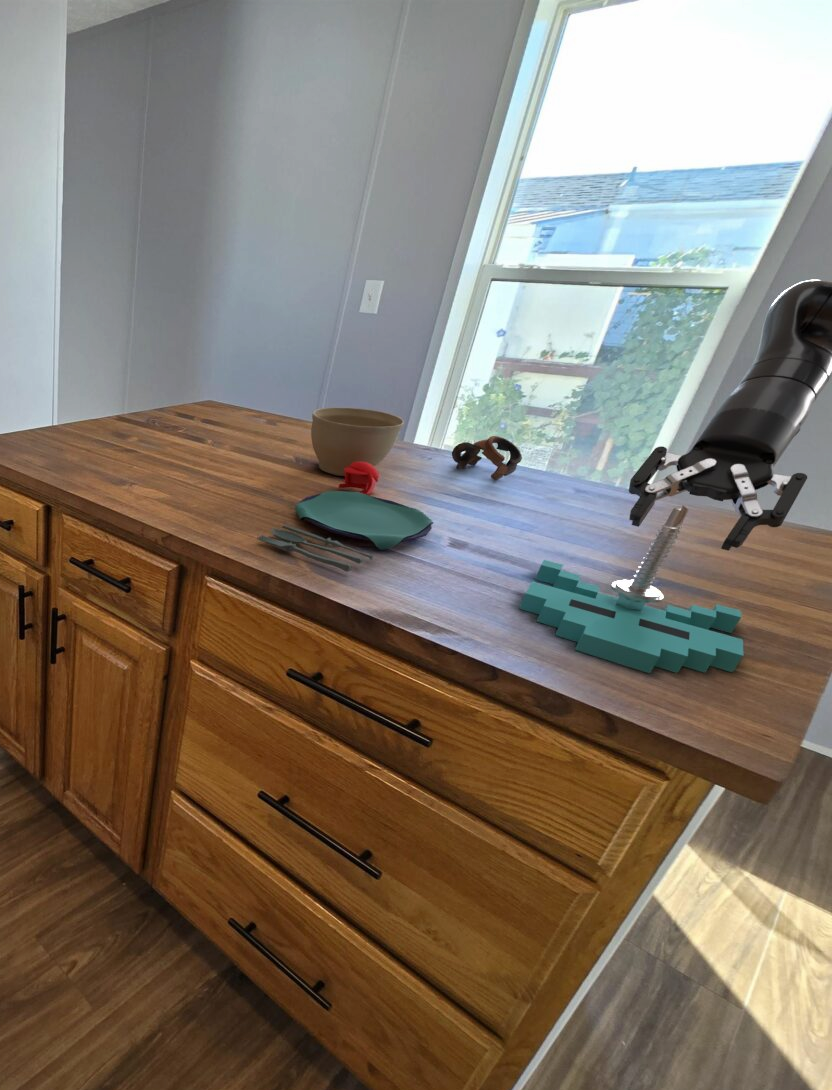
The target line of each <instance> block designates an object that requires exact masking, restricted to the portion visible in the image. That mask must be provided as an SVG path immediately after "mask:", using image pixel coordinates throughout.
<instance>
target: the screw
mask: <svg viewBox="0 0 832 1090" xmlns="http://www.w3.org/2000/svg"><path fill="white" fill-rule="evenodd" d="M688 513H689V508H687V507H686V506H685V505H678V506H674V508H672V511H671V512H670V513H669V516H668V517H667V519H666V521H665V523H664V524H661V529H657V531H658V533H657V534H655V536H656V537H655V538H653V539H652V541H653V543H650V545H651V547H649V548H648V550H649V551H648V552H645V555H646V556H644V557H643V561H641V565H639V566H638V568H639V570H635V571H636V574H634V575H633V577H634V578H633V579H620V580H619V579H618V580H615V581H613V582H612V584H611V585H610V587H611V590H612V591H614V592H615V593H617V595H619V597H617V598H618V600H617V602H616V603H617V604H619V605H621V606H623V607H625V608H627V609H632V610H639V611H641V610H642V608H643V606H644V605H645V604H649V603H660V602H662V601H663V599H664V594H663V593H662V592H661V590H659V589H658V588H657V587H655V586H653V584H654V580H656V577H655V576H657V575H659V571H661V568H660V567H663V565H664V564H663V563H664V562H665V561H666V559H665V558H668V556H669V555H668V554H669V553H671V550H670V549H672V548H673V547H674V546H673V544H675V543H676V539H678V538H679V536H678V534H681V530H680V529H683V528H682V524H683V522H684V520H685V519H686V517H687V515H688ZM645 606H646V605H645Z"/></svg>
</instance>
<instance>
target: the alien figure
mask: <svg viewBox="0 0 832 1090" xmlns="http://www.w3.org/2000/svg"><path fill="white" fill-rule="evenodd" d="M563 567H564V564H562V563H558V562H555V561H550V560H547V559H543V561H542V563H541V564H540V567H539V569H538V571H537V573H536V575H535V578H534V580H535V581H531V582H530V584H529V586H528V588H527V589H526V591H525V594H524V596H523V598H522V601H521V603H520V605H519V607H518V609H519V610H523V611H526V612H530V613H532V614H536V615H538V617H537V619H536V622H538V623H541V624H543V625H547V626H550V627H553V628H556V629H557V630H556V632H555V635H554V636H557V637H560V638H562V639H563V638H564V639H566V640H570V641H573V642H576V643H577V644H576V647H575V651H578V652H580V653H584V654H587V655H590V656H593V657H597V658H600V659H603V660H606V661H609V662H612V663H616V664H618V665H621V666H624V667H628V668H631V669H633V670H636V671H637V670H638V671H639V672H640V671H641V672H644V673H647V674H651V673H652V670H653V669H654V668H660V669H662V670H666V671H669V672H671V673H672V672H673V673H675V674H678V673H679V672H680V670H681V668H682V667H685V668H688V669H690V670H694V671H698V672H701V673H703V674H704V673H706V672H707V671H708V669H709V667H713V668H716V669H719V670H723V671H726V672H729V673H733V672H734V671H735V669H736V668H737V666H738V665H739V663H740V662H741V661H742V659H743V657H744V655H745V654H744V640H743V638H739V637H735V636H732V635H728V634H724V633H722V632H726V633H729V634H732V633H733V631H734V630H735V628H736V627H737V625H738V624H739V622H740V620H741V618H742V610H741V609H736V608H732V607H729V606H725V605H721V604H718V603H717V604H715V605H714V607H713V609H710V608H708V607H703V606H699V605H697V604H696V605H695V604H691V605H690V607H689V609H687V608H686V609H685V608H681V607H678V606H674V605H670V604H666V606H665V608H664V609H660V608H656V607H652V606H648V605H644V606H643V608H642V610H641V611H639V610H632V609H627V608H625V607H623V606H621V605H619V604H617V603H616V602H617V600H618V598H619V597H616V596H615V597H614V596H612V595H608V594H604V593H601V592H599V590H600V588H601V587H600V585H599V586H598V585H595V584H592V583H588V582H584V581H582V580H581V581H580V579H581V576H582V575H581V574H577V573H573V572H570V571H566V570H563V569H562V568H563ZM537 581H540V582H543V583H547V584H550V585H547V584H543V583H539V582H537ZM551 585H553V586H551ZM710 628H711V629H714V630H719V631H722V632H721V633H720V632H717V631H714V630H710Z"/></svg>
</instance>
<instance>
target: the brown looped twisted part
mask: <svg viewBox="0 0 832 1090" xmlns="http://www.w3.org/2000/svg"><path fill="white" fill-rule="evenodd" d="M493 444H497V446H496V447H495V446H494V445H493ZM498 451H503V452H509V459H508V461H507V462H506V463H504V461H505V460H506V457H505V455H503V454H501V453H500V452H498ZM480 452H481V454H482V455H483V456H484V457H485V458H486V459H487V460H488V461H490V462H491V464H493V466H495V467H497V468H496V469H495V471H494V472H493V473H491V475H490V478H491V479H492V480H494V481H498V480H500V479H502V478H503V477H507V476H509V475H511V474H513V473H514V472H515V471H516V470H517V467H518V464H519V463H521V462H522V460H523V457H522V456H523V455H522V454H521V451H520V449H519V448H518V447H517V446H516V445H515V444H514V443H513V442H512V441H510V440H508V439H506V438H504V437H501V436H498V435H491V436H489V438H487V439H480V440H478V441H476V442H474V443H471V442H469V441H468V442H466V441H464V442H461V443H458V444H457V445H455V446H454V447H453V448H452V451H451V457H452V460H453V461H454V462H455V463H456V465H455V469H457V470H458V469H461V470H465V469H466V468H467V466H468V465H469V466H472V467H475V466H476V465H477V463H479V462H480V461H481V460H482V459H483V458H482V456H479V453H480ZM462 453H463V454H462Z"/></svg>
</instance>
